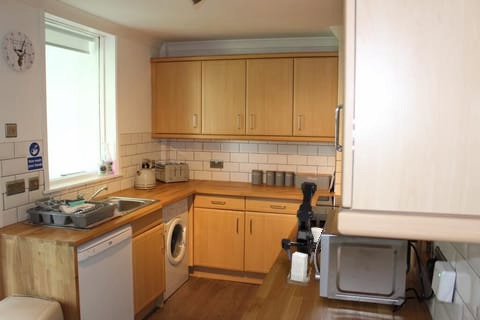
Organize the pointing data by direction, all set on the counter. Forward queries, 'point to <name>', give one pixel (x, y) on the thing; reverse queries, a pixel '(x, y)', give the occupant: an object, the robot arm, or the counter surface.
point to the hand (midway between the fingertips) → (299, 262)
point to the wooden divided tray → (300, 281)
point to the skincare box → (299, 266)
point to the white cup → (316, 233)
